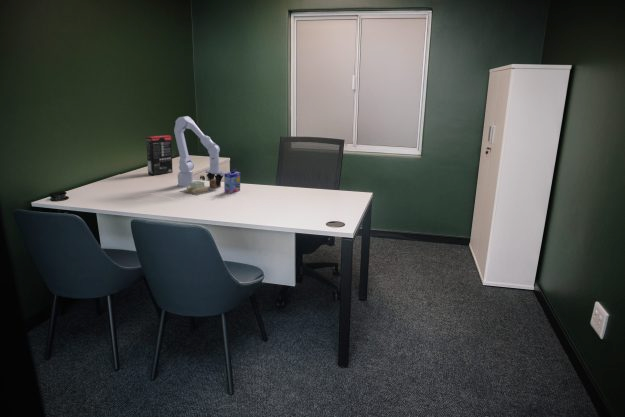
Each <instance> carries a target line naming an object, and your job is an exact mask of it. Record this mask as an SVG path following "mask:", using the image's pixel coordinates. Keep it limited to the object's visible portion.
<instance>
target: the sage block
mask: <svg viewBox="0 0 625 417" xmlns="http://www.w3.org/2000/svg"><path fill="white" fill-rule="evenodd" d="M204 186H205V182H204V181H200V180H195V181H194V180H193V182H190V187H191V188H196V189H198V188H202V187H204Z"/></svg>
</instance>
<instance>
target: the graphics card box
mask: <svg viewBox="0 0 625 417" xmlns="http://www.w3.org/2000/svg"><path fill="white" fill-rule="evenodd" d="M145 138H146V139H145V140H146V156H147V157H146V158H147V160H146V162H147V174H148V175H151V176H157V175H163V174H172V173H173V171H174V170H173V150H172V135H167V134H166V135H155V136H153V135H152V136H146V137H145Z"/></svg>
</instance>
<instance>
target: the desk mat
mask: <svg viewBox="0 0 625 417" xmlns="http://www.w3.org/2000/svg"><path fill="white" fill-rule="evenodd" d="M178 192H179V193H184V194H187V195H192V196H201V195H204V194H209V193H212V192H216V190H215V189H211V188H208V191H205V192H201V193H192V192H188V191H187V189H184V190H183V189H182V190H179V191H178Z"/></svg>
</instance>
